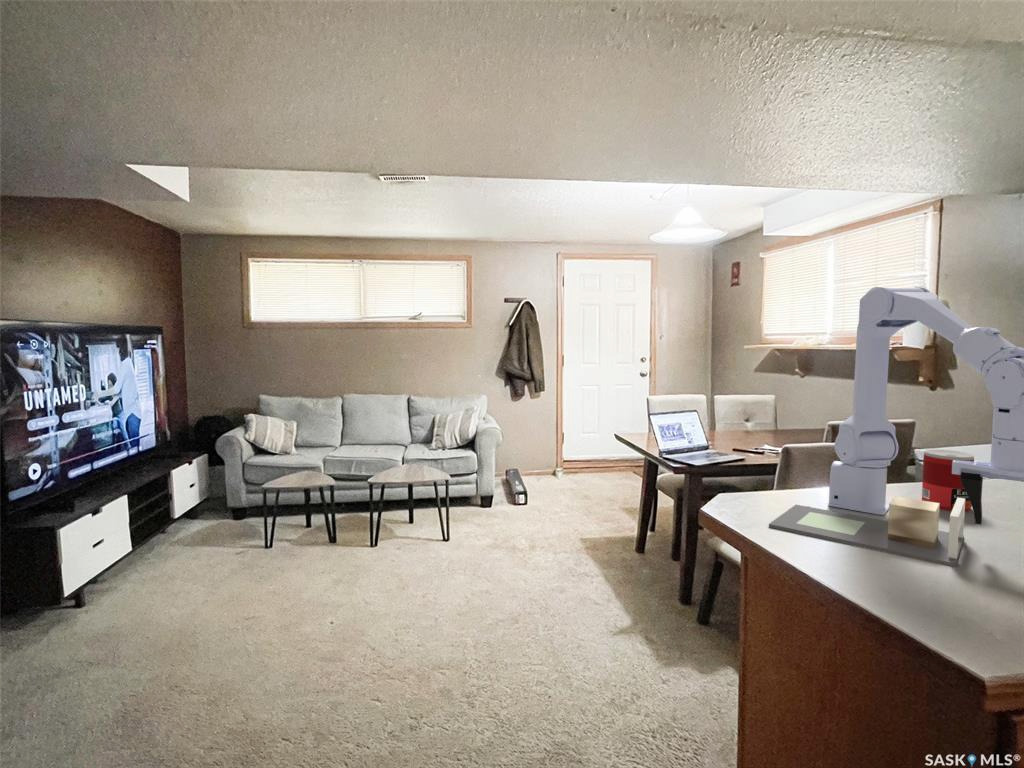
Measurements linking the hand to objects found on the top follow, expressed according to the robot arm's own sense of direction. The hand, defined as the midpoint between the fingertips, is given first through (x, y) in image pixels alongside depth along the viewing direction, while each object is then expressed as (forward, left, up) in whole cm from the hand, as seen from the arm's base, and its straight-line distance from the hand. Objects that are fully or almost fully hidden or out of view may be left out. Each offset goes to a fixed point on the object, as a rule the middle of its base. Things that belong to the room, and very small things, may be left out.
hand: (1012, 528), depth 79 cm
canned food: (-10, +29, -5) cm, 31 cm away
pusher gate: (-6, 0, -5) cm, 8 cm away
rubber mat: (-19, 0, -5) cm, 20 cm away
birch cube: (-12, 0, -5) cm, 13 cm away
